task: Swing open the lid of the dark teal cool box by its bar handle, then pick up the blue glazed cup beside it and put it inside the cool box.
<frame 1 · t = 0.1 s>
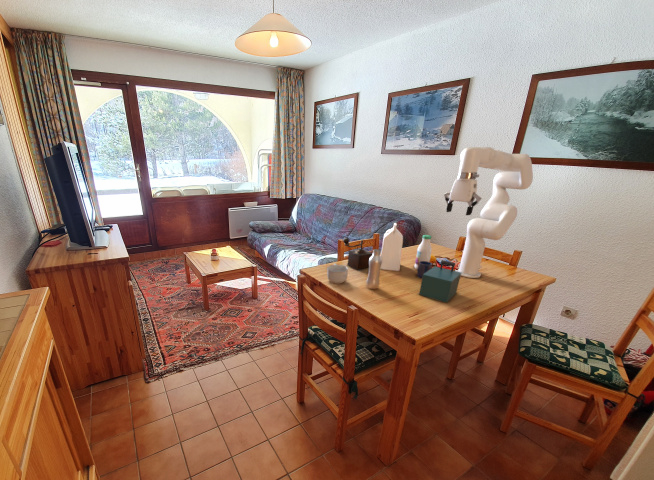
hand: (458, 213, 150), 37 cm above the table, tool pointing down, fingers open, 9 cm apart
cup: (422, 276, 172), on the table
plastic bottle: (372, 288, 158), on the table
milk: (389, 266, 187), on the table
cool box lid: (443, 269, 147), point 13 cm above the table, hinge at 0.0°
milk bottle: (421, 268, 185), on the table
teacup: (336, 280, 167), on the table
cool box: (437, 293, 151), on the table
manual coffee grinder: (355, 267, 186), on the table
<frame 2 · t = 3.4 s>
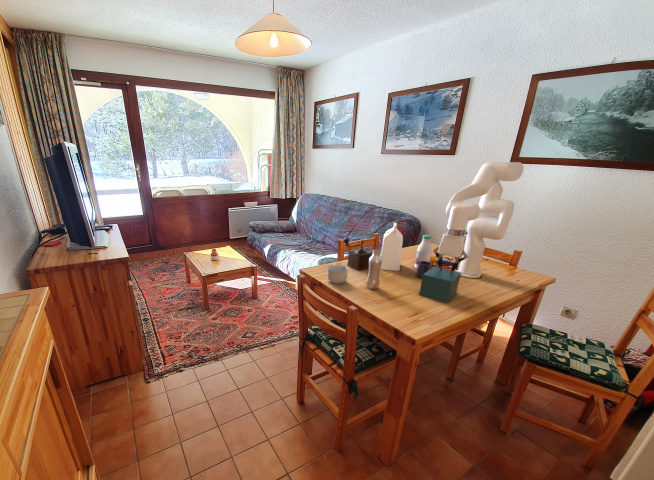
hand: (446, 268, 151), 12 cm above the table, tool pointing down, fingers closed on cool box lid, 6 cm apart
cool box lid: (443, 269, 147), point 13 cm above the table, hinge at 0.0°, touching gripper
everything else where it was.
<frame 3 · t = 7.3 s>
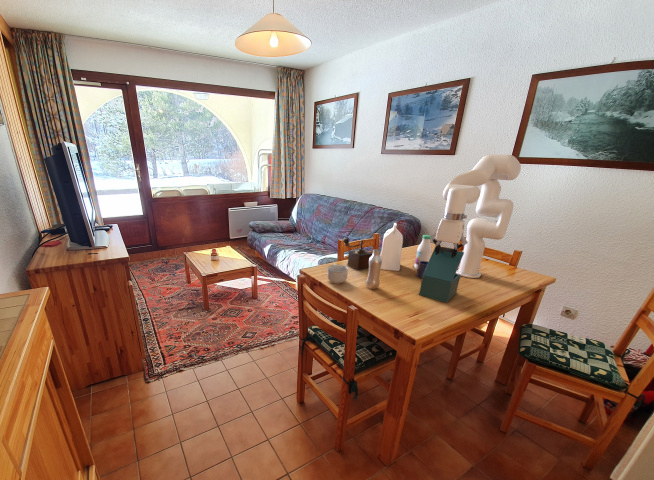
hand: (445, 255, 142), 20 cm above the table, tool pointing down, fingers closed on cool box lid, 6 cm apart
cool box lid: (442, 261, 142), point 18 cm above the table, hinge at 48.2°, touching gripper
everything else where it was.
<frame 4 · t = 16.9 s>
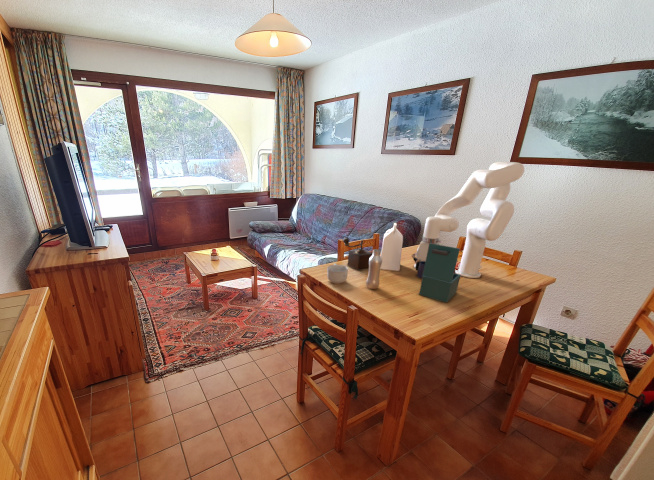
hand: (423, 271, 171), 3 cm above the table, tool pointing down, fingers closed on cup, 6 cm apart
cup: (422, 276, 172), on the table, touching gripper
cool box lid: (438, 263, 138), point 18 cm above the table, hinge at 88.2°
everything else where it was.
when the fingers open (9 cm above the table, at t = 25.1 s): cup drops 5 cm, resting on cool box.
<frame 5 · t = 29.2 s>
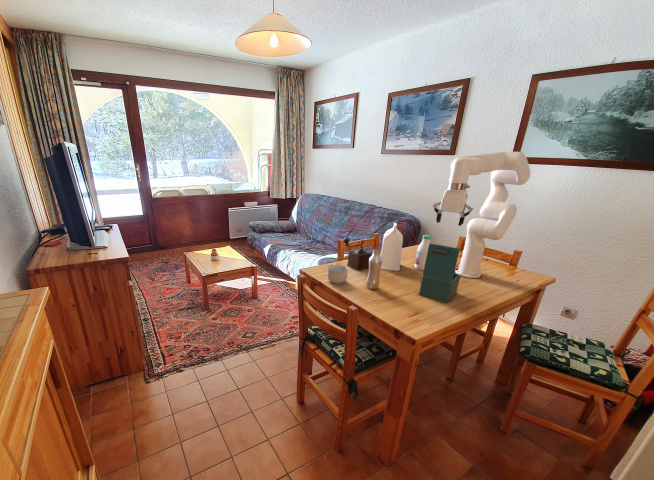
hand: (448, 223, 149), 32 cm above the table, tool pointing down, fingers open, 9 cm apart
cup: (438, 291, 152), point 1 cm above the table, touching cool box
everything else where it was.
at the end: cool box lid at +88° (first picture: +0°); cup inside the target area in the cool box (1.0 cm from its centre), point 0.8 cm above the cool box's base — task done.
